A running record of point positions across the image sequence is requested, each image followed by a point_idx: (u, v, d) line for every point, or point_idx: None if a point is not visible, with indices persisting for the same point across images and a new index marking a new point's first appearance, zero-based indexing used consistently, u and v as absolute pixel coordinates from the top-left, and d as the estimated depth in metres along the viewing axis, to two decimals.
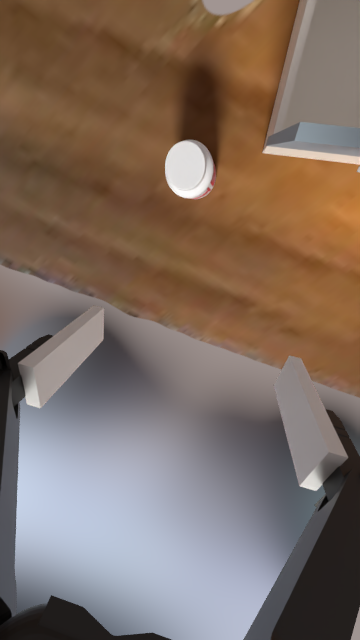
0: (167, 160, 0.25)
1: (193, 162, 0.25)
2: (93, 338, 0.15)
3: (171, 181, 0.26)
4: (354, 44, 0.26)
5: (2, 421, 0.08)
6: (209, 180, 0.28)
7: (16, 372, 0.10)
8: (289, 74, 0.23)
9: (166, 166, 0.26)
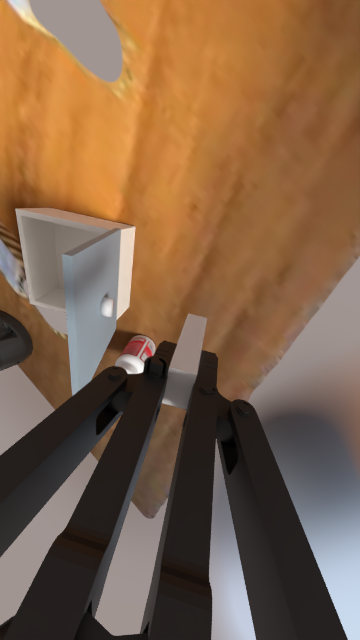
0: None
1: None
2: None
3: None
4: None
5: (147, 425, 0.09)
6: (134, 359, 0.43)
7: None
8: None
9: None
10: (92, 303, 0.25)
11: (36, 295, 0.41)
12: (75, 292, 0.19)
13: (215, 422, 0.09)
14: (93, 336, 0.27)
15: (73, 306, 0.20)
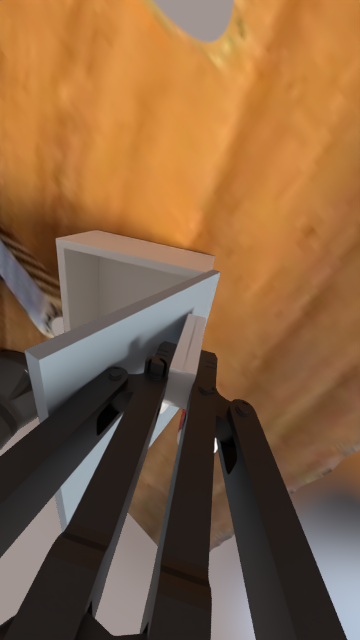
0: None
1: None
2: None
3: None
4: (127, 301, 0.33)
5: (147, 425, 0.09)
6: None
7: None
8: None
9: None
10: None
11: None
12: None
13: (214, 422, 0.09)
14: None
15: None
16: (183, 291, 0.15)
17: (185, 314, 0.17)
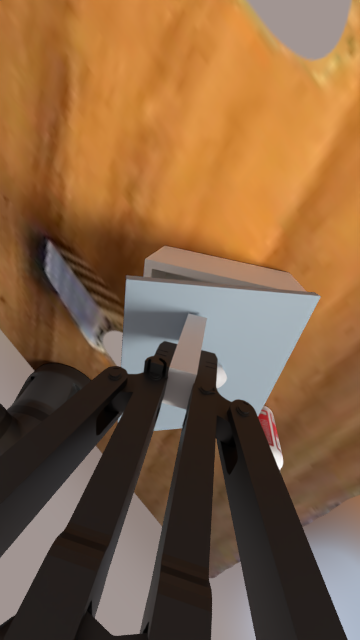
0: None
1: None
2: None
3: None
4: None
5: (147, 425, 0.09)
6: (273, 451, 0.31)
7: None
8: None
9: None
10: None
11: None
12: (127, 320, 0.17)
13: (215, 422, 0.09)
14: None
15: (123, 333, 0.17)
16: (252, 291, 0.18)
17: (255, 316, 0.19)
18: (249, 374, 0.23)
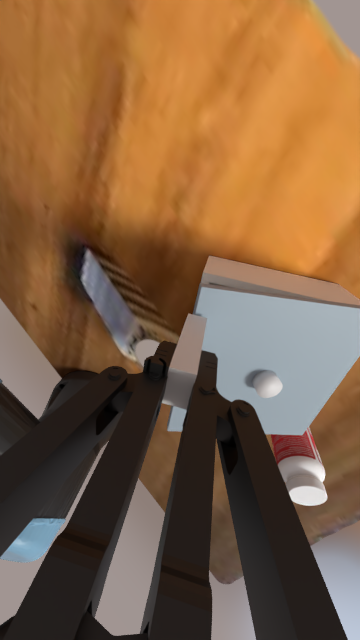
0: (297, 502, 0.30)
1: (307, 492, 0.29)
2: None
3: (315, 504, 0.30)
4: None
5: (147, 425, 0.09)
6: (316, 465, 0.30)
7: None
8: None
9: (302, 504, 0.30)
10: (234, 358, 0.20)
11: None
12: None
13: (215, 422, 0.09)
14: (222, 393, 0.22)
15: None
16: (318, 304, 0.18)
17: (317, 328, 0.19)
18: (303, 386, 0.23)
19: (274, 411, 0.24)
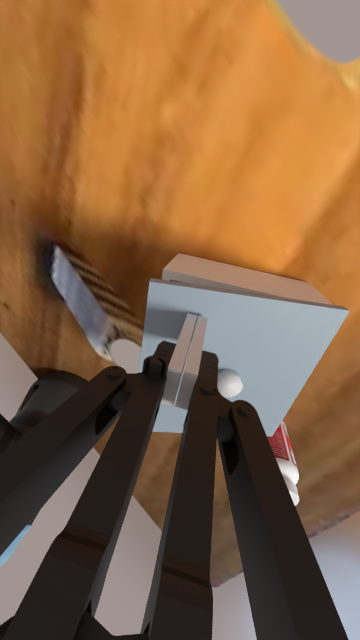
0: None
1: None
2: None
3: None
4: None
5: (146, 424, 0.09)
6: (289, 466, 0.30)
7: None
8: None
9: None
10: None
11: None
12: (147, 320, 0.17)
13: (216, 422, 0.09)
14: None
15: (143, 333, 0.18)
16: (273, 301, 0.17)
17: (276, 326, 0.19)
18: (267, 386, 0.22)
19: None
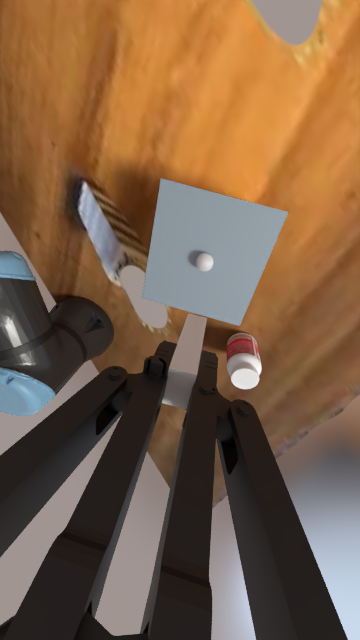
0: (238, 386, 0.39)
1: (244, 374, 0.38)
2: None
3: (251, 387, 0.39)
4: None
5: (147, 425, 0.09)
6: (254, 358, 0.39)
7: None
8: None
9: (241, 388, 0.39)
10: (183, 238, 0.31)
11: None
12: (158, 206, 0.30)
13: (215, 422, 0.09)
14: (177, 269, 0.33)
15: (155, 216, 0.31)
16: (234, 199, 0.28)
17: (237, 220, 0.29)
18: (233, 273, 0.32)
19: (215, 294, 0.34)
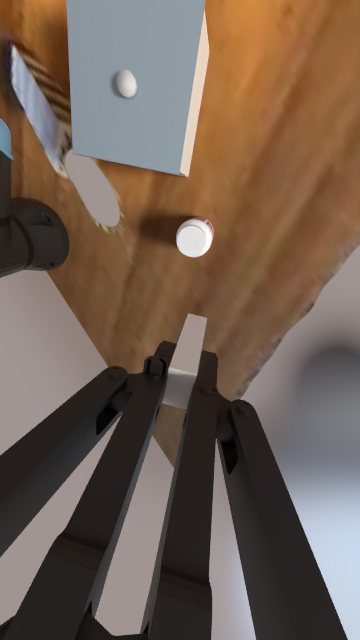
0: (186, 254, 0.36)
1: (189, 234, 0.35)
2: None
3: (199, 252, 0.36)
4: None
5: (147, 425, 0.09)
6: (201, 222, 0.36)
7: None
8: None
9: (189, 255, 0.36)
10: (101, 57, 0.29)
11: None
12: (68, 16, 0.27)
13: (215, 422, 0.09)
14: (102, 104, 0.31)
15: (68, 32, 0.28)
16: None
17: (153, 19, 0.26)
18: (161, 98, 0.30)
19: (146, 134, 0.32)
